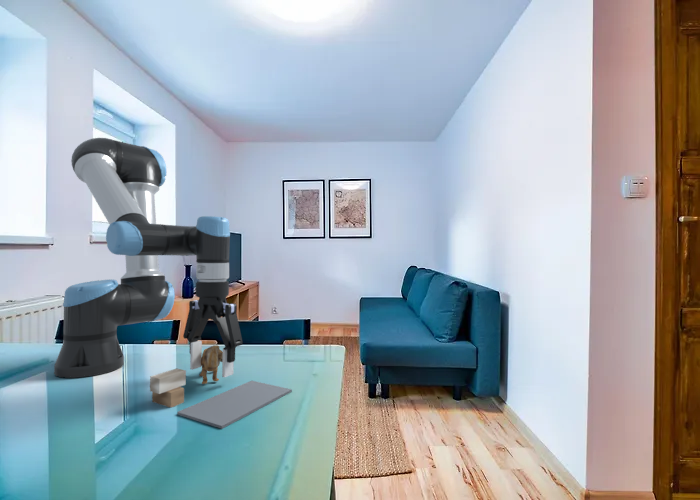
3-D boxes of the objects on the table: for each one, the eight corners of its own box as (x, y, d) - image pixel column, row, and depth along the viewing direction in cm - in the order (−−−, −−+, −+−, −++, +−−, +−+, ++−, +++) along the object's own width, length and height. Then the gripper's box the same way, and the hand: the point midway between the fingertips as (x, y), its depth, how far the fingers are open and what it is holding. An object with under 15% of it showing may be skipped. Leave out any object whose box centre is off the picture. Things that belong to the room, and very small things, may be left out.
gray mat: (177, 414, 70) (177, 411, 70) (251, 382, 87) (251, 380, 87) (221, 428, 64) (221, 426, 64) (291, 391, 82) (291, 389, 82)
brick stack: (145, 404, 75) (145, 375, 75) (171, 394, 80) (172, 367, 80) (164, 410, 72) (164, 380, 72) (190, 400, 77) (190, 371, 77)
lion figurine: (228, 384, 85) (228, 345, 85) (204, 389, 82) (204, 349, 82) (213, 368, 97) (213, 334, 97) (192, 372, 94) (192, 337, 95)
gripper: (168, 279, 91) (166, 368, 90) (235, 283, 80) (234, 385, 80) (194, 277, 97) (192, 360, 97) (259, 281, 86) (258, 375, 86)
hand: (211, 371), depth 88 cm, fingers closed on lion figurine, 10 cm apart
